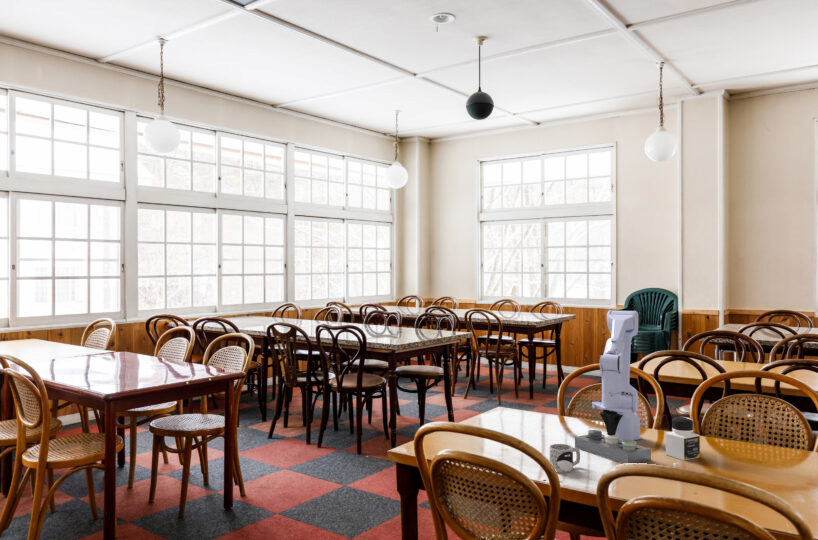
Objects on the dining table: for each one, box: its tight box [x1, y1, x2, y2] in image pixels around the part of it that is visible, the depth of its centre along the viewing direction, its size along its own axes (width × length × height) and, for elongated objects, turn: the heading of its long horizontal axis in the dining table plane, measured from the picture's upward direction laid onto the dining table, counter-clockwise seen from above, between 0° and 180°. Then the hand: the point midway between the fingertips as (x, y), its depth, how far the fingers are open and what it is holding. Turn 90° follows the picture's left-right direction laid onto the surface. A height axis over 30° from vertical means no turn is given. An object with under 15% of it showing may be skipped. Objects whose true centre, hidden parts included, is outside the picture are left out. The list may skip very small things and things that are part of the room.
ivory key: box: [604, 432, 619, 445], centre depth 200 cm, size 4×4×4 cm
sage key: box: [622, 440, 637, 451], centre depth 194 cm, size 4×4×4 cm
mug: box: [549, 443, 581, 474], centre depth 185 cm, size 10×7×7 cm
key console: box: [574, 434, 652, 464], centre depth 200 cm, size 10×22×4 cm, turn 29°
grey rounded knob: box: [587, 429, 603, 440], centre depth 206 cm, size 4×4×4 cm
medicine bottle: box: [665, 416, 701, 462], centre depth 197 cm, size 7×7×12 cm
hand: (611, 434), depth 200 cm, fingers closed, pressing on ivory key
